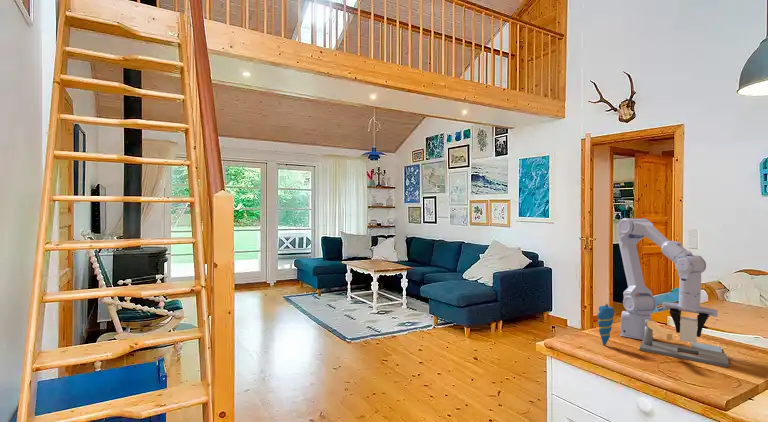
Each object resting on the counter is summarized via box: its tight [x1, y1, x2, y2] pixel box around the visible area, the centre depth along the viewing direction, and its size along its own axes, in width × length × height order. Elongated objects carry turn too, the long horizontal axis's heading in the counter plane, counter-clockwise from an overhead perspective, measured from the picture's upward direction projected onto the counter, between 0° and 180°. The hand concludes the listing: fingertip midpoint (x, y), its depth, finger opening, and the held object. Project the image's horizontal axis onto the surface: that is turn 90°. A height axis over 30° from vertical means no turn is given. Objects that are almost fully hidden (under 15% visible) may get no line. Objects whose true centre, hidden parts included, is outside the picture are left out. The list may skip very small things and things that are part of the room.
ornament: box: [596, 303, 615, 346], centre depth 144 cm, size 5×5×15 cm
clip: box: [645, 319, 673, 342], centre depth 136 cm, size 18×2×2 cm, turn 166°
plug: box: [679, 316, 698, 344], centre depth 137 cm, size 4×4×7 cm
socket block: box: [638, 326, 729, 368], centre depth 138 cm, size 23×12×7 cm, turn 53°
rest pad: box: [691, 342, 723, 353], centre depth 144 cm, size 8×8×1 cm
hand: (688, 334), depth 137 cm, fingers closed on plug, 5 cm apart
